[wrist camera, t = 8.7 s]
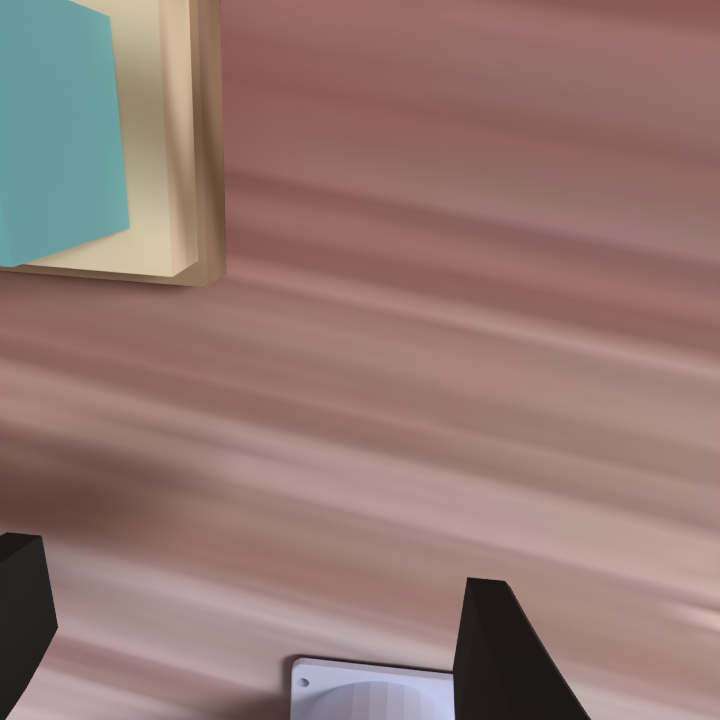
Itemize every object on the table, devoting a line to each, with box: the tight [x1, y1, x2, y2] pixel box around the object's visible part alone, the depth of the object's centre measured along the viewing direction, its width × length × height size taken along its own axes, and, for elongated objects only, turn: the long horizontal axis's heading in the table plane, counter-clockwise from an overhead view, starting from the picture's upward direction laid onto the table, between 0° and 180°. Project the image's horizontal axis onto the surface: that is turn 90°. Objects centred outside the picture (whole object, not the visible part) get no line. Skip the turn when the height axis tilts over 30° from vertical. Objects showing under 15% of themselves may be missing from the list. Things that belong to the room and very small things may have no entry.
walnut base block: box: [0, 0, 226, 287], centre depth 16 cm, size 8×8×2 cm
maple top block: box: [24, 0, 198, 277], centre depth 14 cm, size 6×6×2 cm
